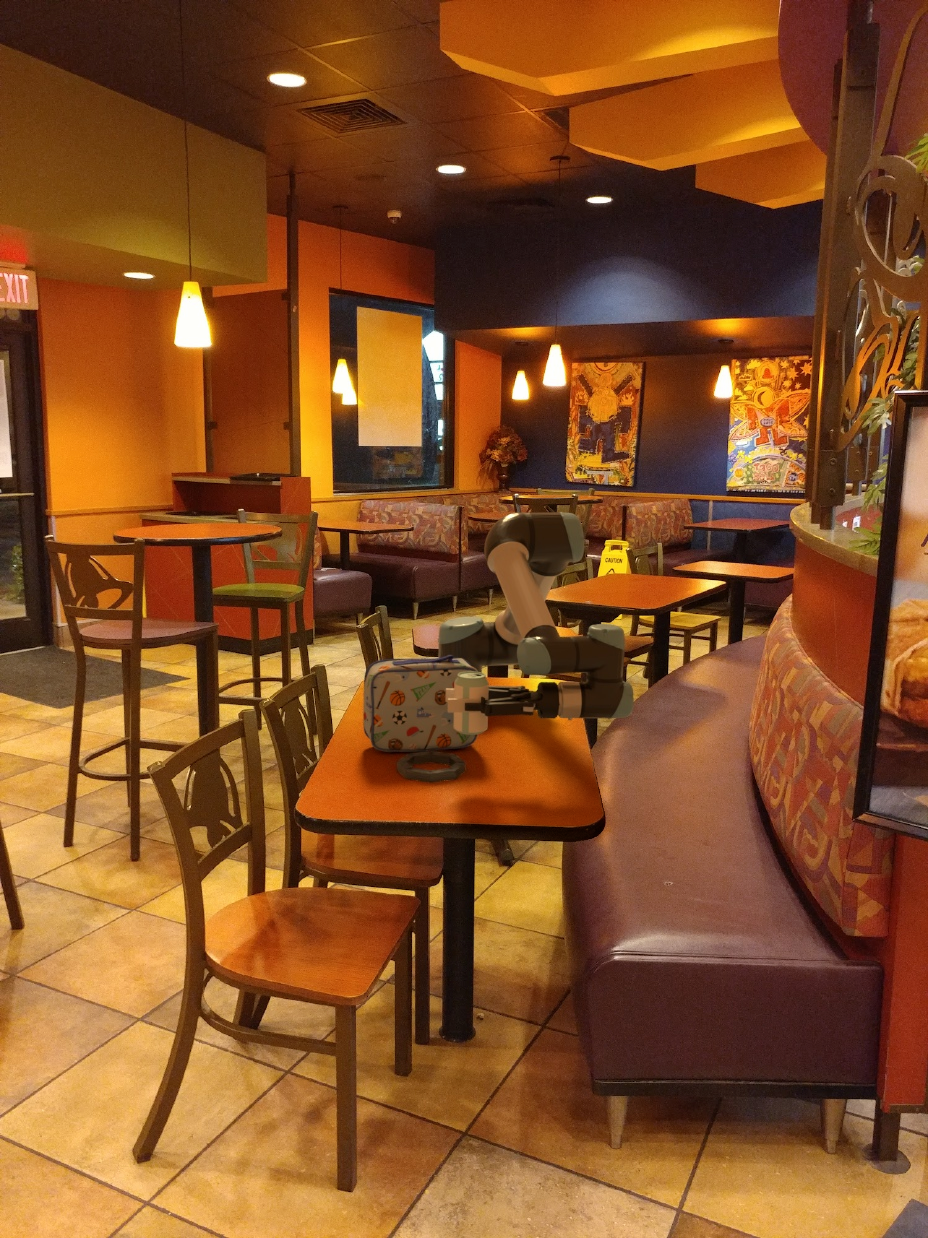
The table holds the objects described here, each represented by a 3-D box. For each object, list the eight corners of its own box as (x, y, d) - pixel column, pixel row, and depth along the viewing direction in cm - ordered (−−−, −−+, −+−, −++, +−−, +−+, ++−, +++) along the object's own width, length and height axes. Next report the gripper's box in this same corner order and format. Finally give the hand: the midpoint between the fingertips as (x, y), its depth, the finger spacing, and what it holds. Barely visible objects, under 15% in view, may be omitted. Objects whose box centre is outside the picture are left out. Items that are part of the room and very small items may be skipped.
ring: (415, 757, 215) (415, 748, 214) (472, 765, 210) (472, 756, 210) (388, 776, 202) (388, 767, 202) (448, 785, 197) (448, 776, 197)
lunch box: (474, 737, 230) (476, 647, 226) (487, 750, 221) (489, 656, 217) (360, 744, 223) (360, 651, 219) (368, 758, 213) (368, 662, 209)
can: (460, 724, 203) (461, 668, 201) (492, 728, 201) (493, 672, 199) (448, 733, 197) (449, 676, 194) (480, 737, 194) (482, 680, 192)
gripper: (565, 732, 190) (449, 732, 188) (549, 704, 209) (443, 704, 208) (566, 695, 188) (450, 695, 187) (550, 670, 208) (444, 670, 206)
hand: (446, 700), depth 197 cm, fingers closed on can, 7 cm apart
